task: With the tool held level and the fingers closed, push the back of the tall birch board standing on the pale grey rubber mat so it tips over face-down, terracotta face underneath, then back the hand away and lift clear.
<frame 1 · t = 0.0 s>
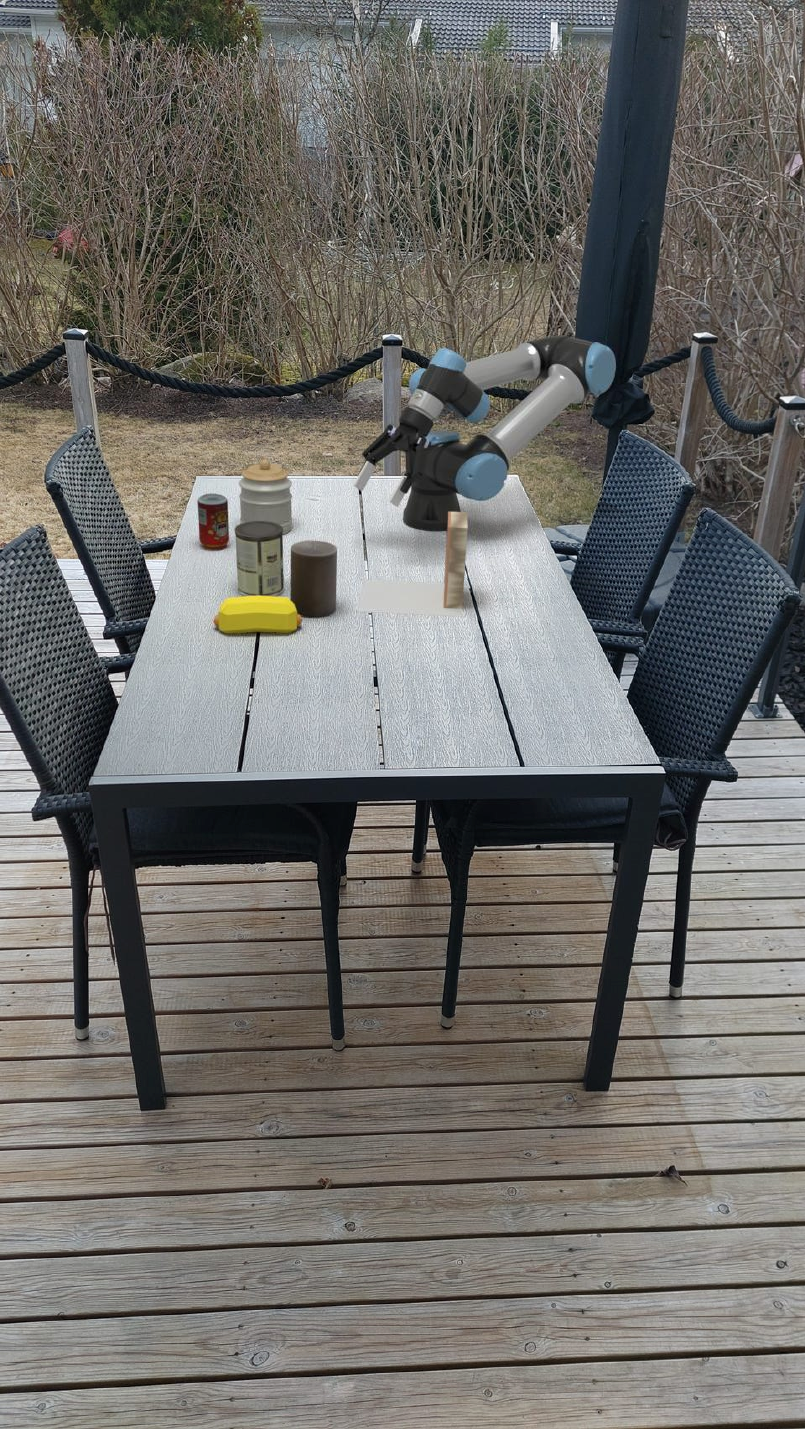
hand: (375, 496, 255), 15 cm above the table, tool tilted 35°, fingers open, 13 cm apart
pillar candle: (314, 609, 236), on the table
soda can: (214, 547, 266), on the table
jar: (266, 529, 278), on the table
rubber mat: (411, 600, 241), on the table
coffee can: (260, 590, 244), on the table
hot dog: (258, 630, 226), on the table
birch board: (452, 599, 241), point 1 cm above the table, touching rubber mat
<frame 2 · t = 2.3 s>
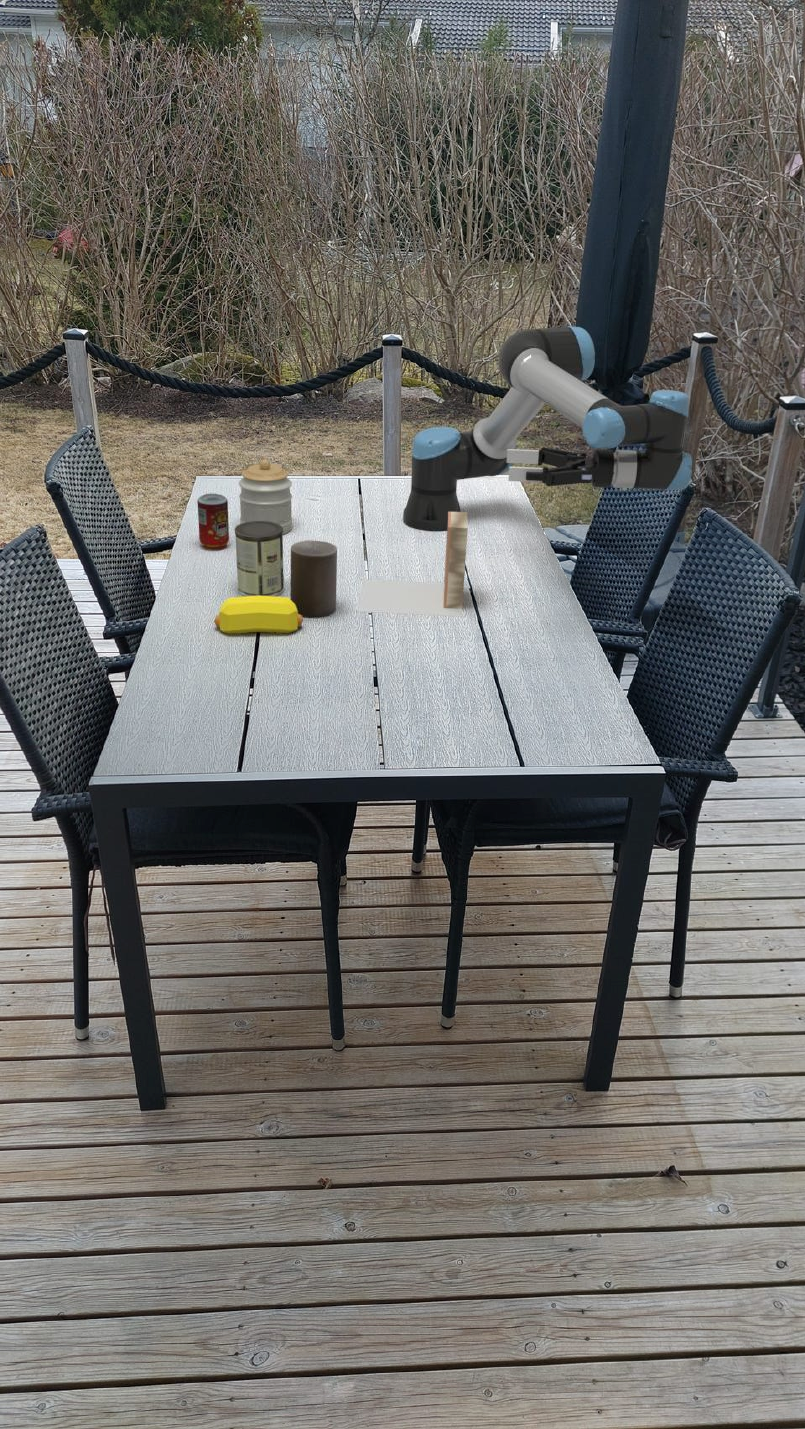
hand: (507, 464, 226), 31 cm above the table, tool horizontal, fingers open, 13 cm apart
nothing on the table moved.
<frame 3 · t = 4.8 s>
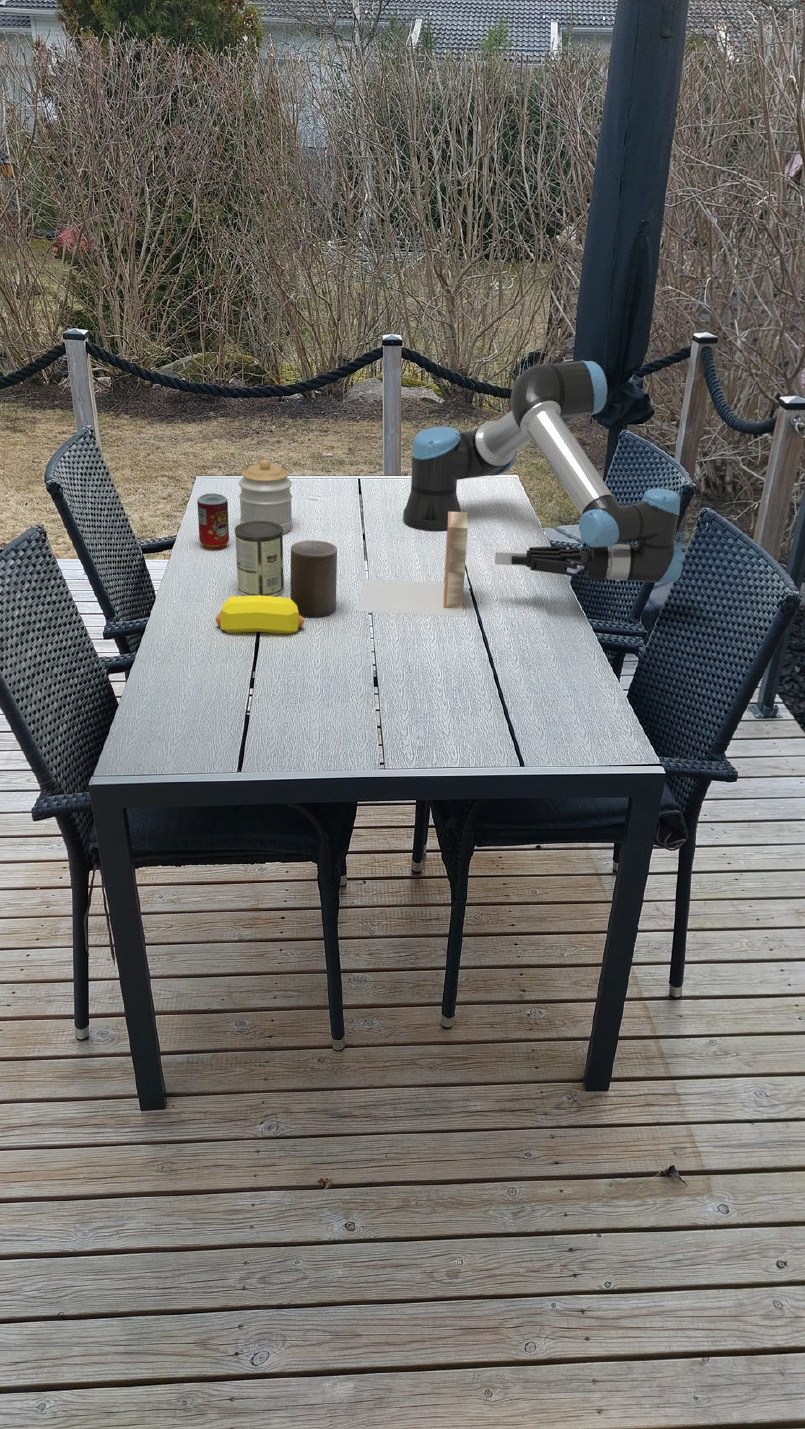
hand: (495, 557, 235), 11 cm above the table, tool horizontal, fingers closed
nothing on the table moved.
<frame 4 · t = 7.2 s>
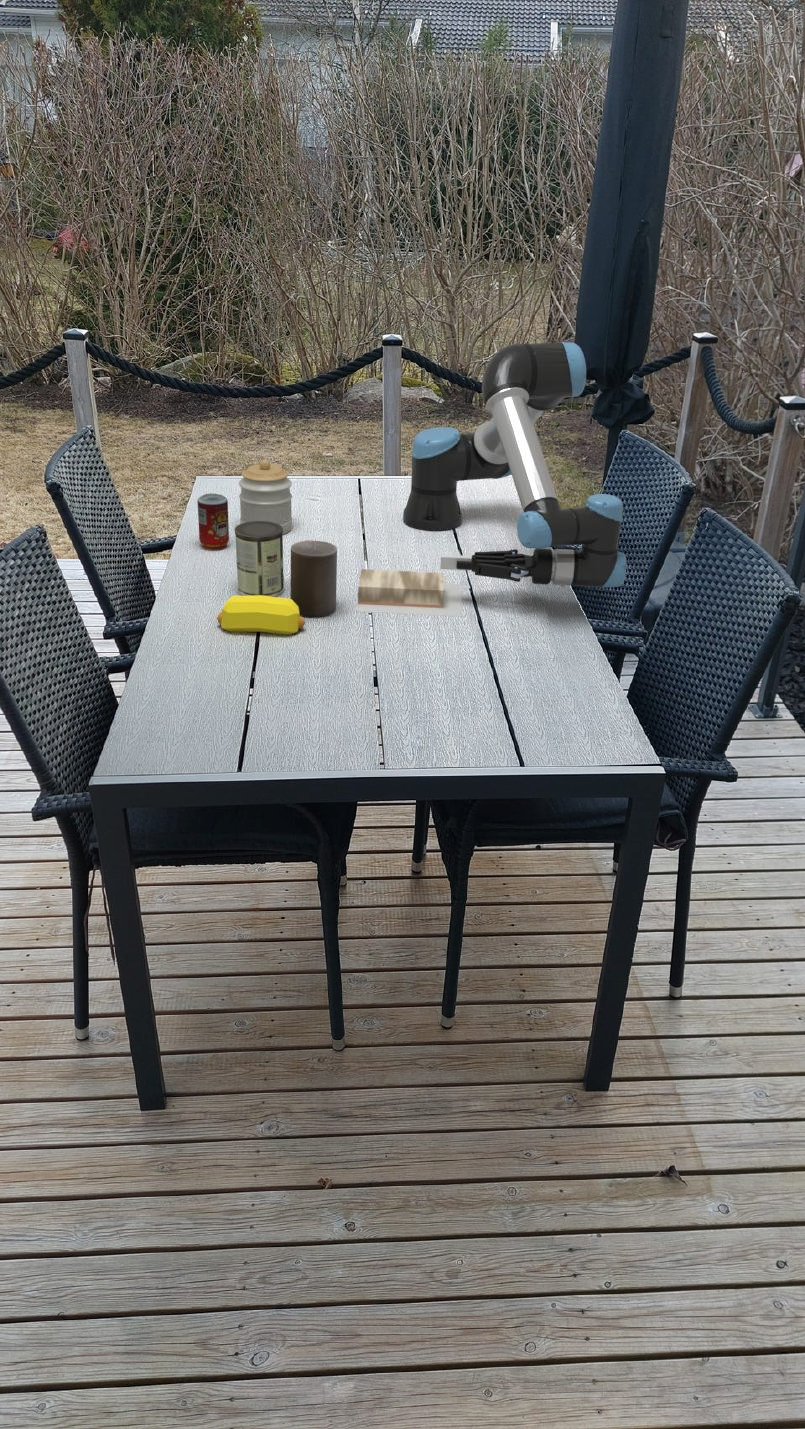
hand: (440, 561, 236), 9 cm above the table, tool horizontal, fingers closed
birch board: (442, 590, 240), point 3 cm above the table, tilted 90°, touching rubber mat
everything else where it was.
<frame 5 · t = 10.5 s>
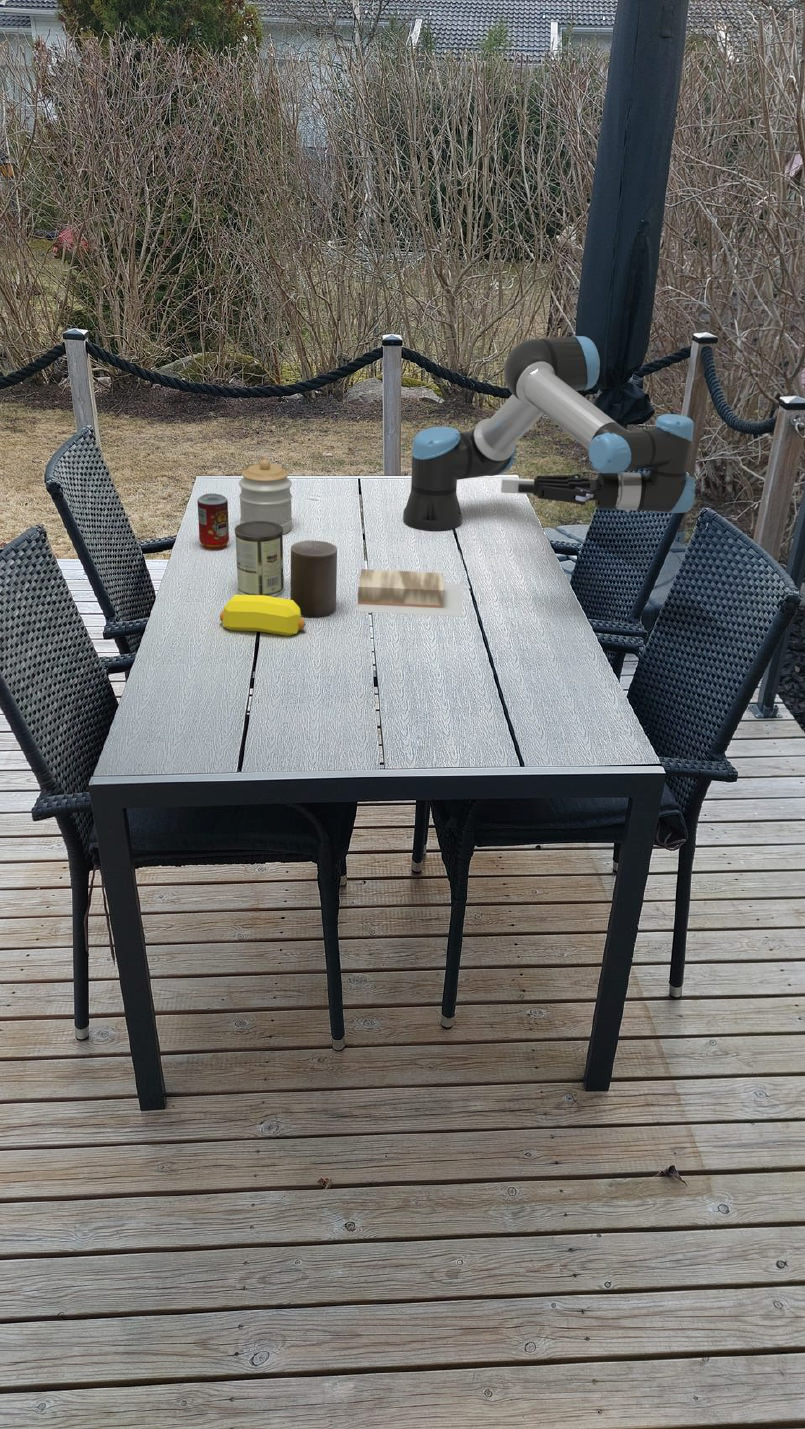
hand: (501, 485, 228), 27 cm above the table, tool horizontal, fingers closed
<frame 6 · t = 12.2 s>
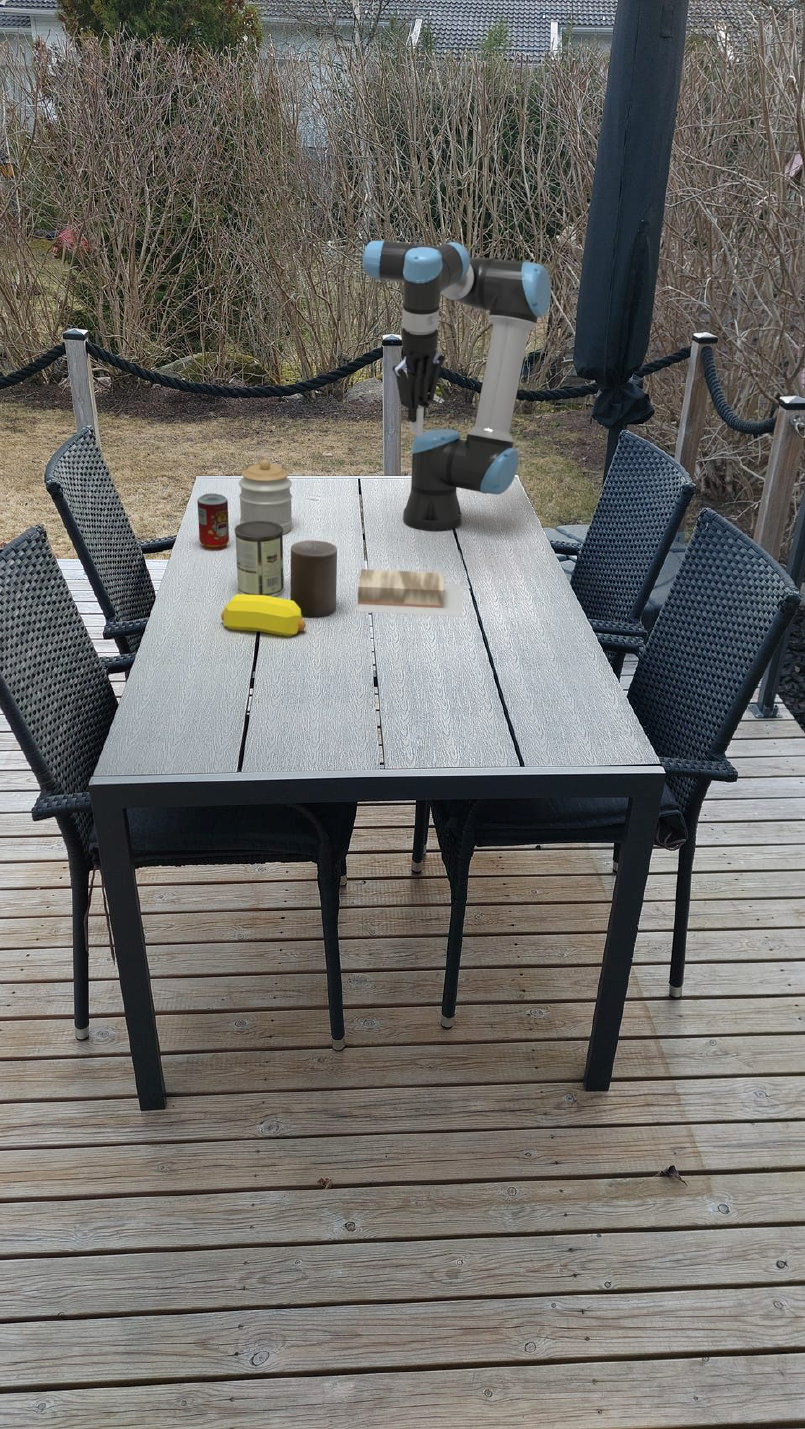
hand: (415, 433, 245), 31 cm above the table, tool pointing down, fingers closed
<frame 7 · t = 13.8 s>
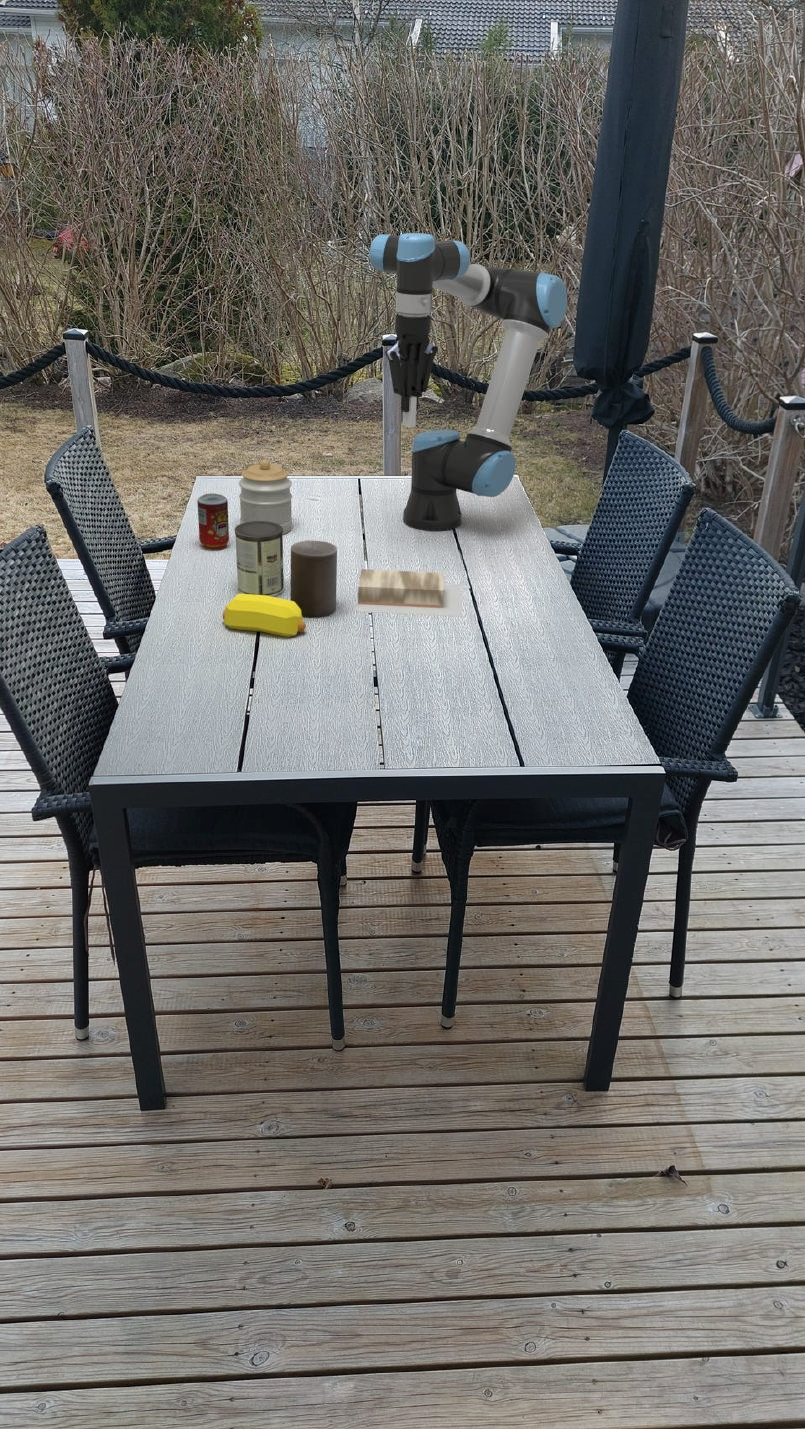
hand: (409, 426, 244), 32 cm above the table, tool pointing down, fingers closed
at the end: birch board tilted 90°; birch board inside the target area on the rubber mat (0.2 cm from its centre), point 2.8 cm above the rubber mat's base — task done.
